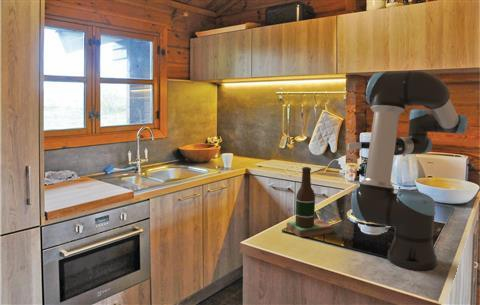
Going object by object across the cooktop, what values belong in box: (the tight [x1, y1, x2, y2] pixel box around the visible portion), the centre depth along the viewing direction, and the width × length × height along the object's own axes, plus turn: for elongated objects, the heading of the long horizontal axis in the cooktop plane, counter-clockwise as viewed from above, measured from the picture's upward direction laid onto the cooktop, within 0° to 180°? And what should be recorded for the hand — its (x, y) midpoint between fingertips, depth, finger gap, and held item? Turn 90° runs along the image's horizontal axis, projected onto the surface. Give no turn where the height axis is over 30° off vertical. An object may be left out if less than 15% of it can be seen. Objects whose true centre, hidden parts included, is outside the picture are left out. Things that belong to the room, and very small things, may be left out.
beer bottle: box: [295, 166, 316, 228], centre depth 159 cm, size 8×8×24 cm
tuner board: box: [286, 218, 333, 238], centre depth 162 cm, size 11×15×3 cm
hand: (358, 148), depth 160 cm, fingers open, 13 cm apart
